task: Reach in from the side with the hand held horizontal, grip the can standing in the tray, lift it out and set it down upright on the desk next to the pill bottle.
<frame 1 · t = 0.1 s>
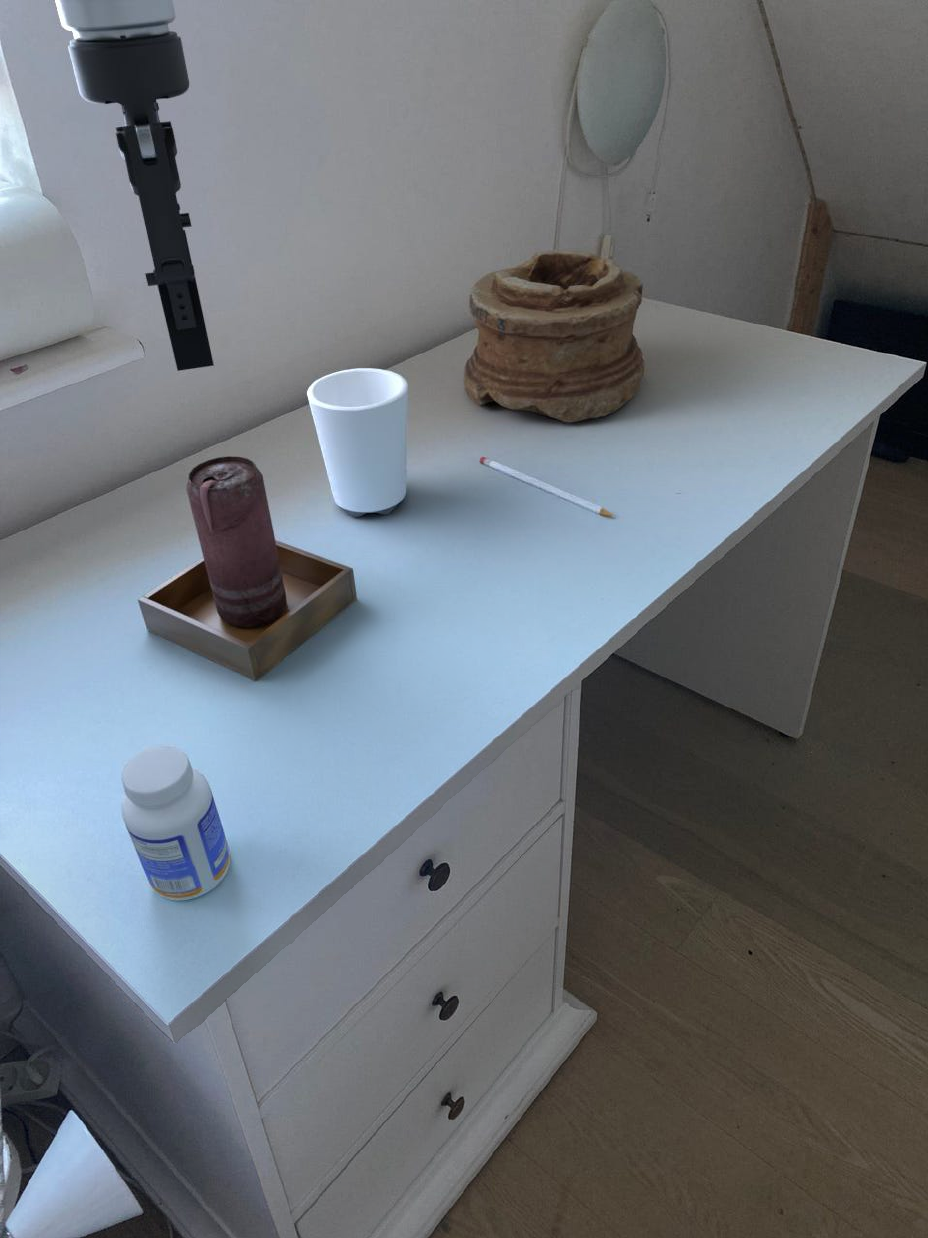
hand: (190, 337, 77), 23 cm above the table, tool pointing down, fingers open, 13 cm apart
can: (253, 612, 84), resting on tray
pencil: (544, 491, 100), on the table
cup: (371, 502, 100), on the table
pill bottle: (191, 871, 62), on the table
tray: (253, 614, 84), on the table
container: (554, 388, 121), on the table
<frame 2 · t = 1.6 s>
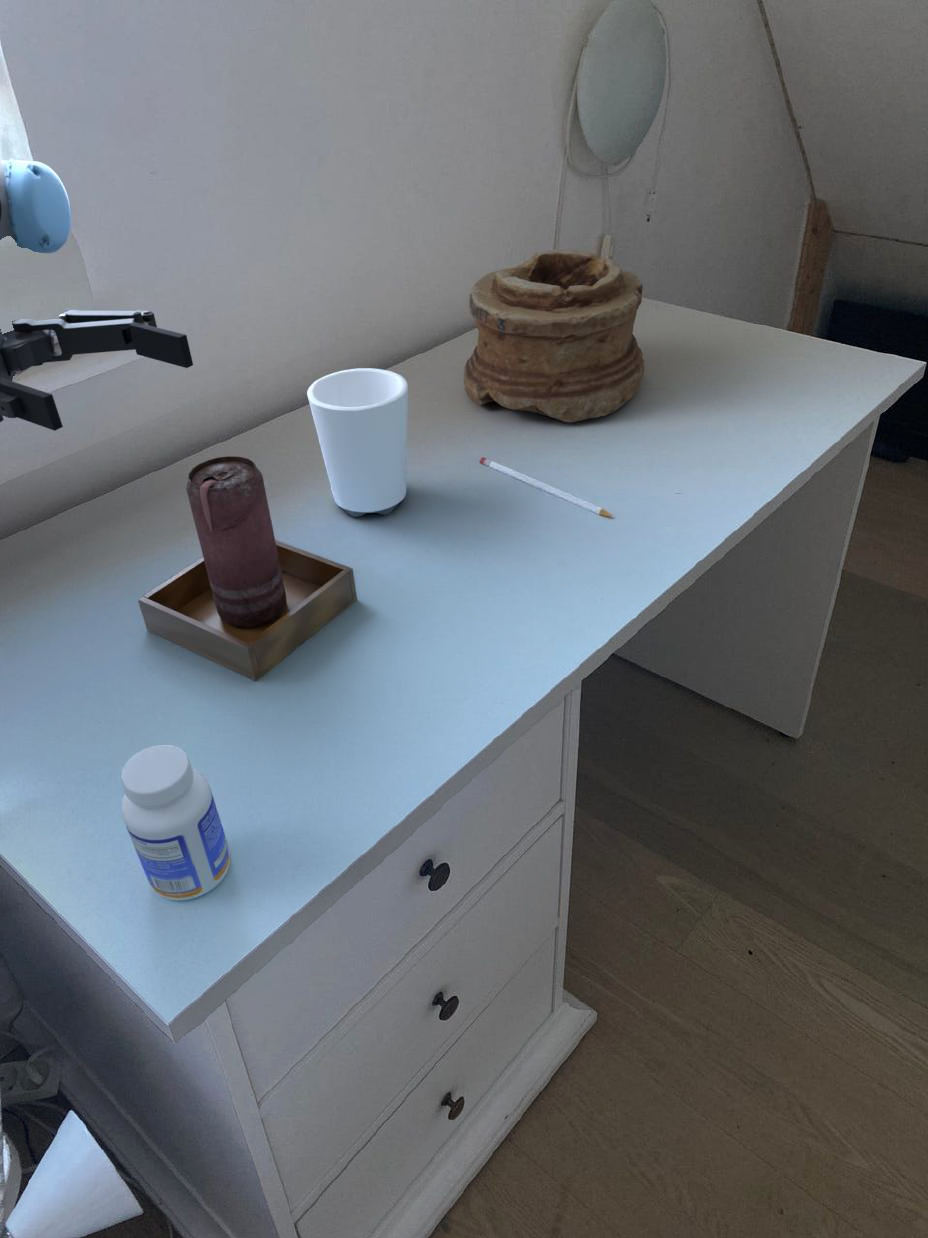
hand: (124, 380, 77), 20 cm above the table, tool horizontal, fingers open, 13 cm apart
nothing on the table moved.
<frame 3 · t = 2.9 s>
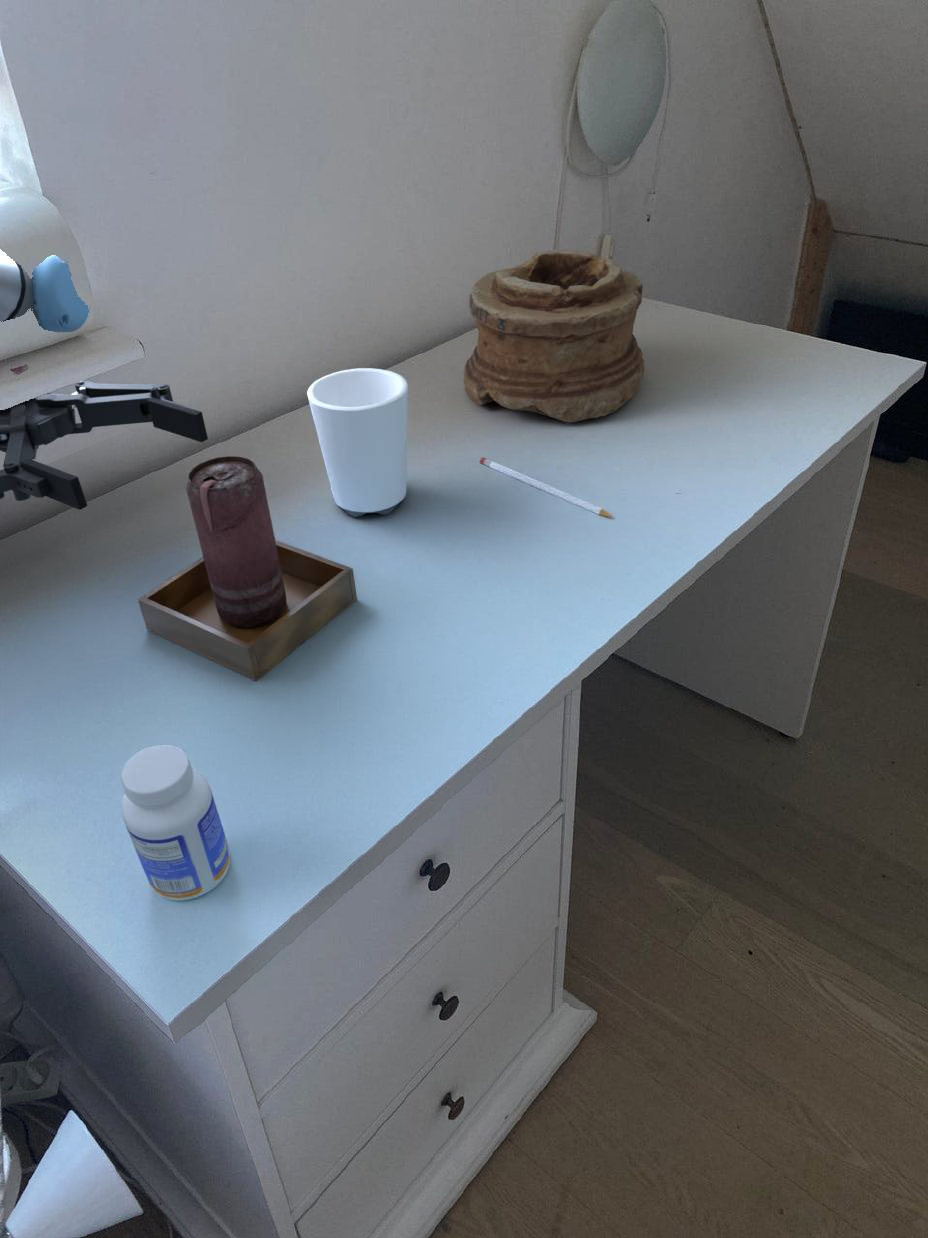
hand: (144, 458, 81), 13 cm above the table, tool horizontal, fingers open, 13 cm apart
nothing on the table moved.
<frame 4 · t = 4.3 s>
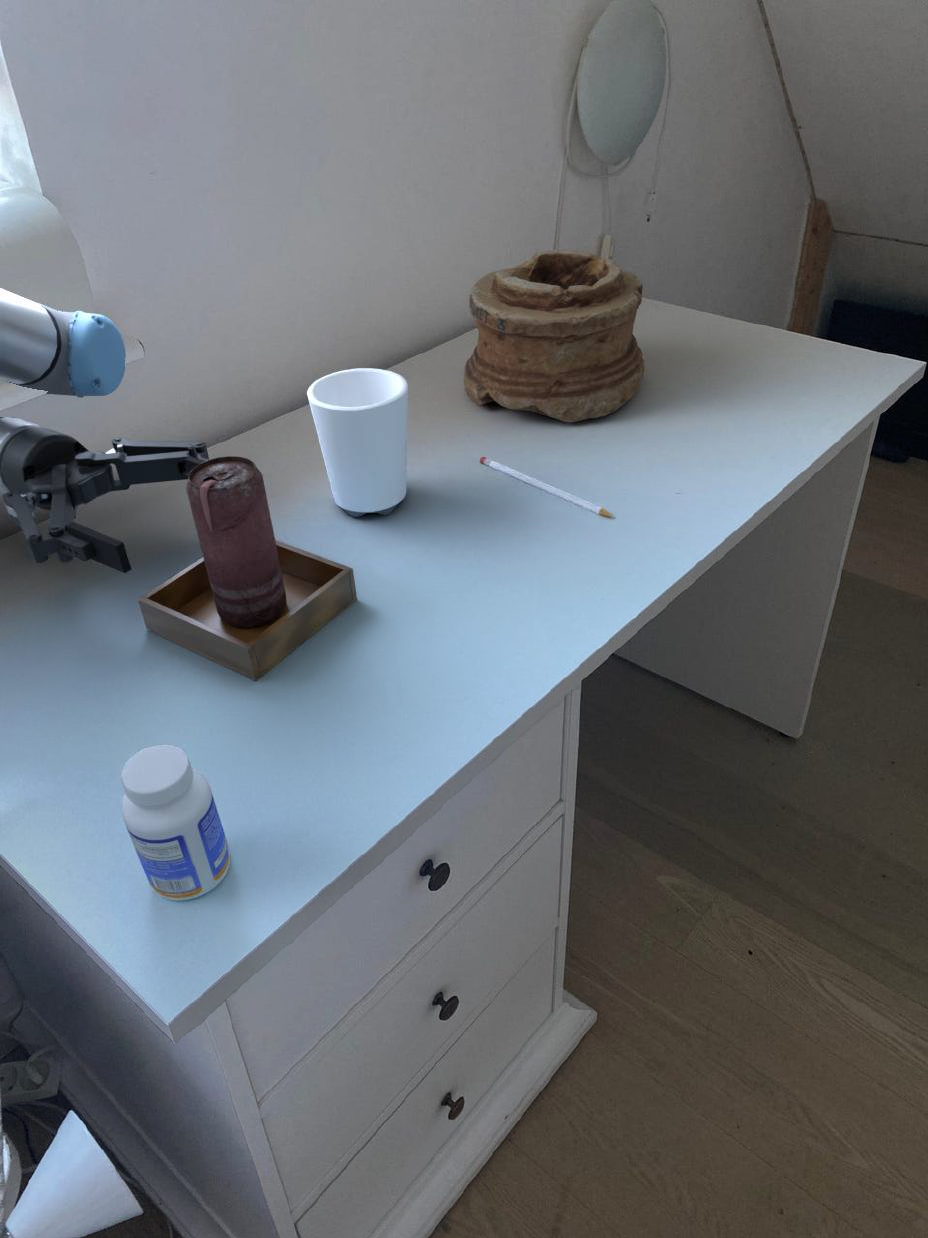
hand: (185, 520, 83), 8 cm above the table, tool horizontal, fingers open, 13 cm apart
nothing on the table moved.
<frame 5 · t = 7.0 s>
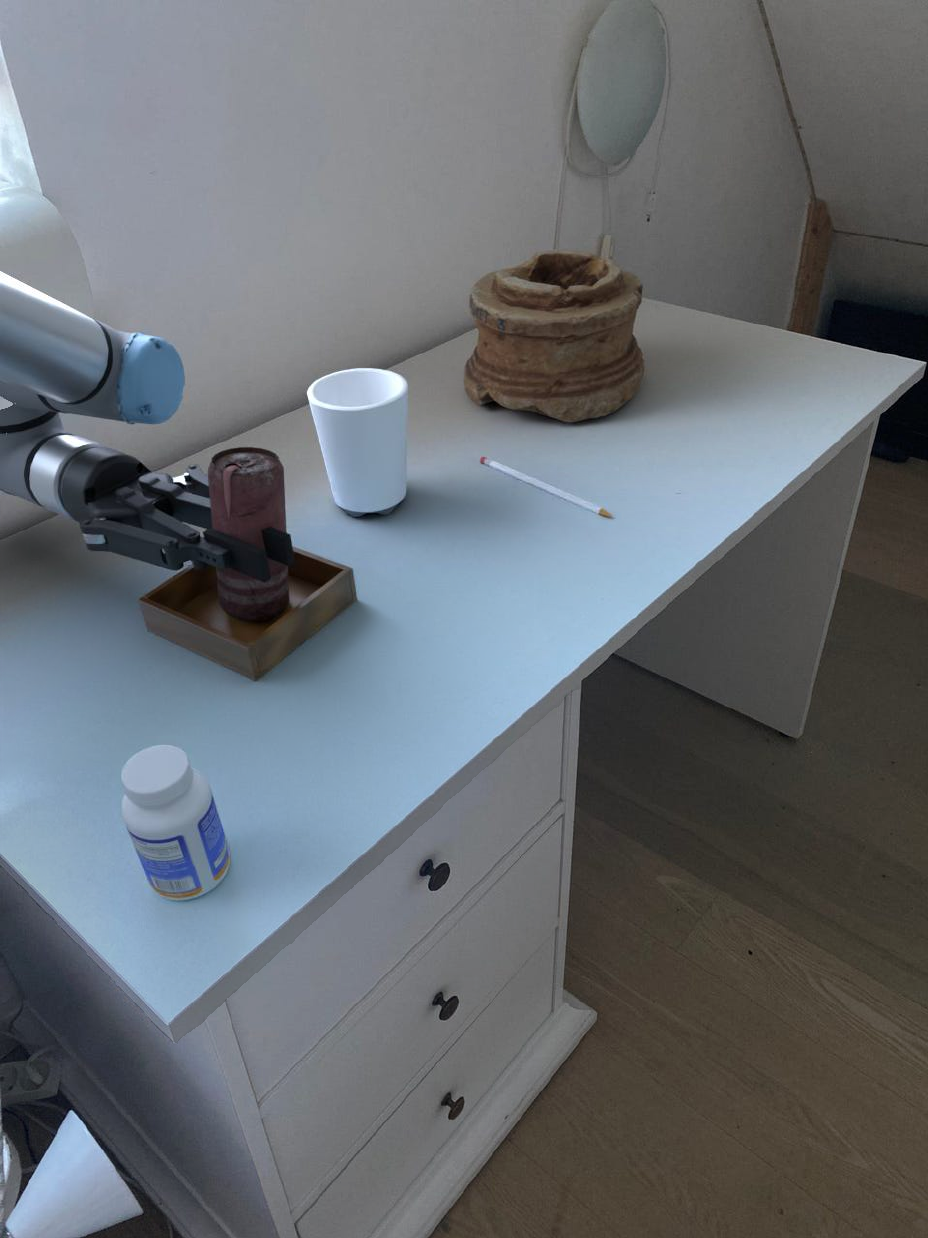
hand: (277, 558, 76), 8 cm above the table, tool horizontal, fingers open, 2 cm apart
can: (254, 607, 84), point 1 cm above the table, touching tray, gripper
everything else where it was.
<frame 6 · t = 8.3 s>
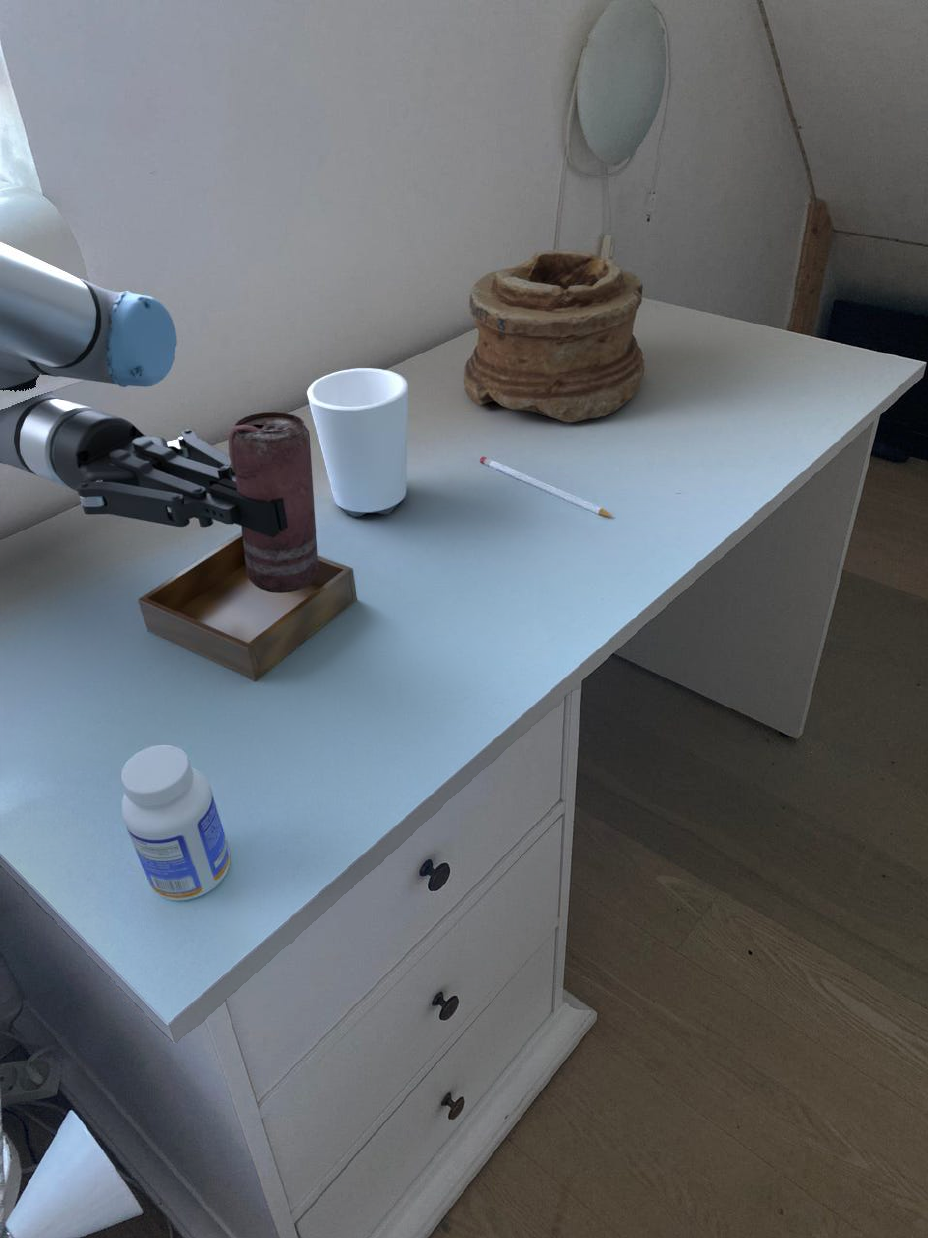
hand: (278, 517, 75), 12 cm above the table, tool horizontal, fingers closed on can
can: (282, 578, 82), point 4 cm above the table, touching gripper
everything else where it was.
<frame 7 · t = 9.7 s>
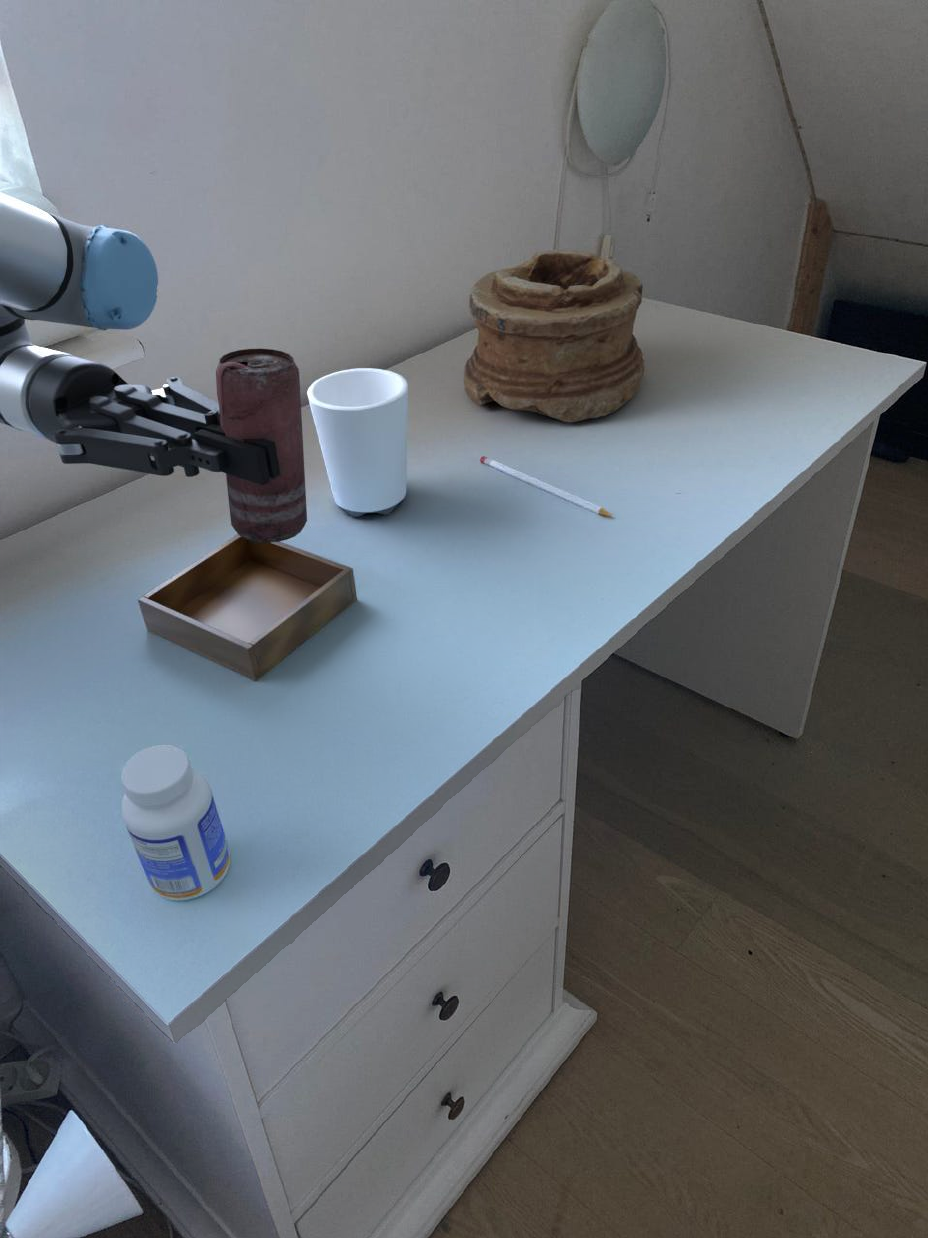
hand: (268, 463, 70), 18 cm above the table, tool horizontal, fingers closed on can
can: (268, 529, 77), point 10 cm above the table, touching gripper
everything else where it was.
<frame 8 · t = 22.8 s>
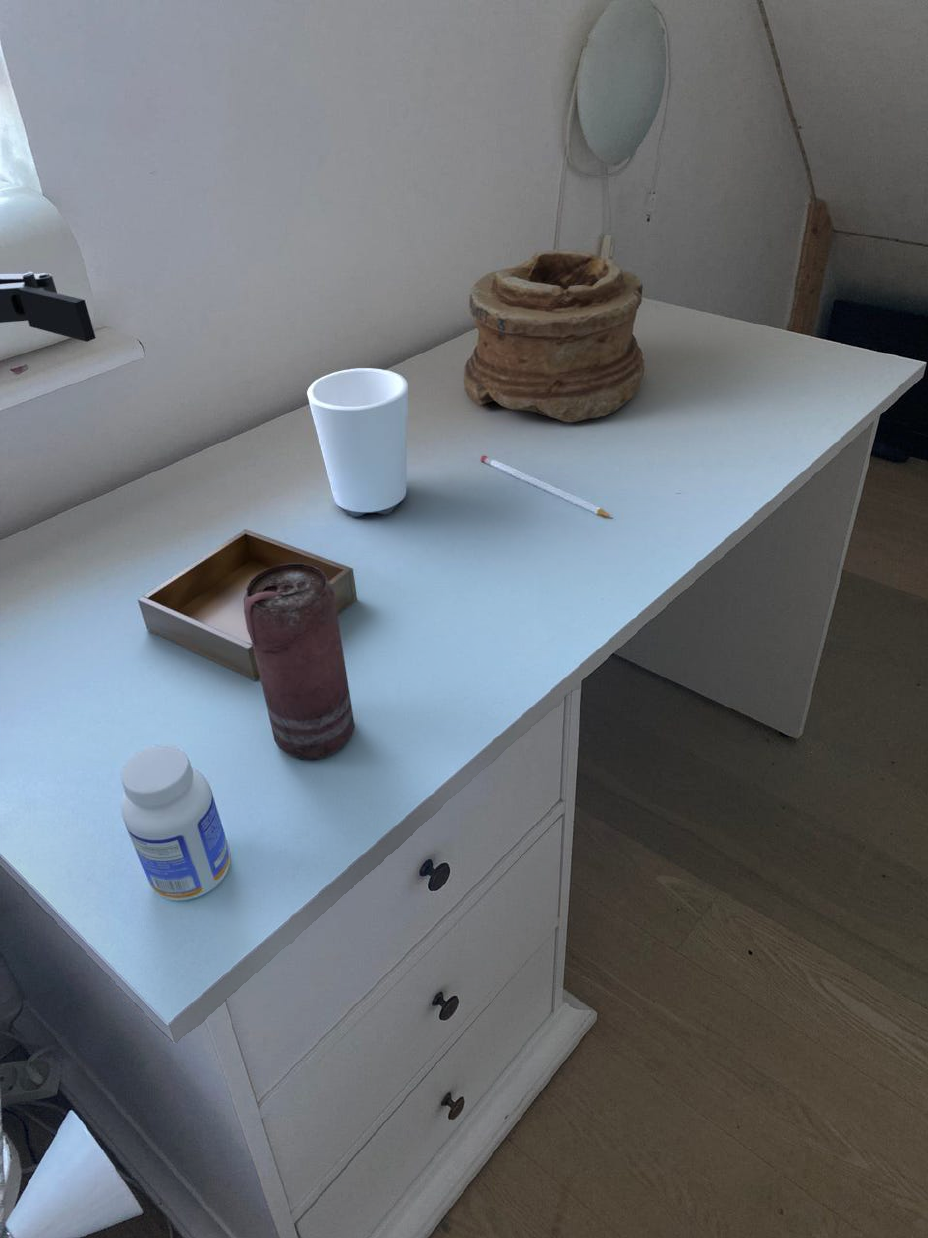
hand: (0, 354, 61), 28 cm above the table, tool horizontal, fingers open, 13 cm apart
can: (314, 737, 72), on the table
everything else where it was.
at the end: can inside the target area (2.8 cm from its centre), on the table; can 13.9 cm from the pill bottle (horizontally); can tilted 0° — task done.
